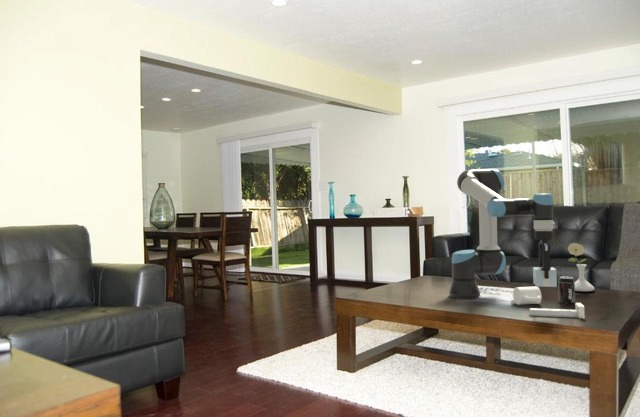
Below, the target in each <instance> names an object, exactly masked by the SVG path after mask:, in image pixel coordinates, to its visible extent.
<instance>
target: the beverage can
mask: <svg viewBox="0 0 640 417" xmlns="http://www.w3.org/2000/svg"><path fill="white" fill-rule="evenodd" d="M575 282H576V281H575V279H574V277H573V276H567V275H566V276H565V275H563V276H559V278H558V283H557V285H558V301H559V302H560V303H561V304H564V305H565V304H566V305H571V304H573V303H576V291H575Z"/></svg>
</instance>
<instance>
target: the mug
mask: <svg viewBox="0 0 640 417" xmlns="http://www.w3.org/2000/svg"><path fill="white" fill-rule="evenodd" d="M512 297H513V301H514V303H515V305H518V306H519V305H522V306H523V305H539V304H540V303H541V302H542V291H541V289H540V287H536V286H518V287H517V286H516V287H514V288H513V292H512Z"/></svg>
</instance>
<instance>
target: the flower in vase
mask: <svg viewBox="0 0 640 417" xmlns="http://www.w3.org/2000/svg"><path fill="white" fill-rule="evenodd" d="M567 250H568V252H569V254H570V255H571V256H572V255H574V256H575V257H570V258H568V259H567V261H568V262H573V263H574V262H577V264H576V265H575V266H576V267H577V269H578V273H579V274H578V279H577V280H576V281H575V292H583V293H584V292H585V293H587V292H588V293H589V292H592V291H594V290H595V286H593V285H592V284H591V283H590V282H589V281H587V280H586V278H585V269H586V267H587V266H588V264H583V263H582V262H585V261H586V260H587V258H584V259H580V261H579V260H578V259H577V257H578V256H581V255H583V254H584V253H585V248H584V246H583V245H582V244H580V243H576V242H573V243H570V244H569V245H568V247H567Z"/></svg>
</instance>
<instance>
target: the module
mask: <svg viewBox="0 0 640 417" xmlns="http://www.w3.org/2000/svg"><path fill="white" fill-rule="evenodd" d="M550 268H551V269H550V286H543V279H542V271H541V269H543V267H539V266H538V267H535V266H534V267H532V276H533V278H532V279H533V280H532V281H533V283H532V284H534V285H535V286H534V287H538V288H540V287H541V288H542V287H543V288H545V287H546V288H547V287H548V288H551V287H552V288H557V285H558V283H557V269H556V268H555V267H553V266H552V267H551V266H550Z"/></svg>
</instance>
